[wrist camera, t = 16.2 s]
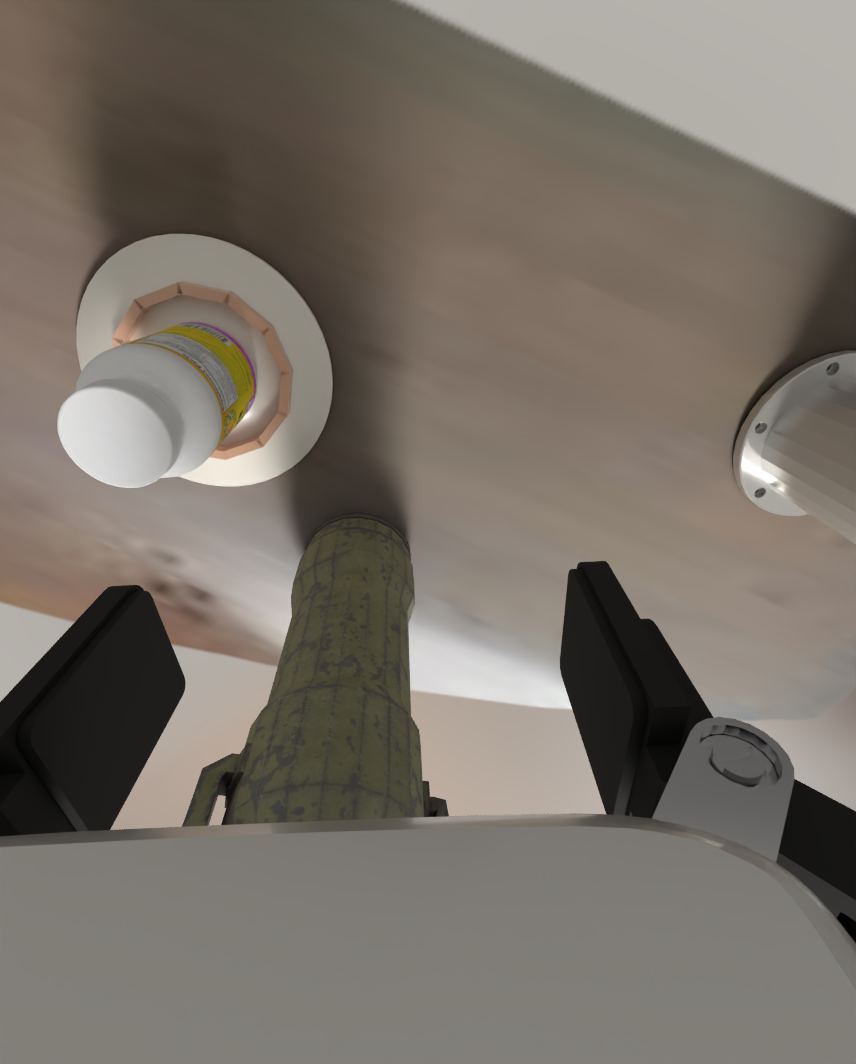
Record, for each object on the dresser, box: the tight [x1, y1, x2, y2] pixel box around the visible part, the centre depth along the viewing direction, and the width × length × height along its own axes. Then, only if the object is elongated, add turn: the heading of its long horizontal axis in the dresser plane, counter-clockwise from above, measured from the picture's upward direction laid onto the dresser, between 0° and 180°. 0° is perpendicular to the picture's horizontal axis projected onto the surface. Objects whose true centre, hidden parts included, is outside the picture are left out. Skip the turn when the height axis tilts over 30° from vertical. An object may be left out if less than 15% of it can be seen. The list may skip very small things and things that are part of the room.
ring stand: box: [76, 234, 333, 486], centre depth 33 cm, size 16×16×2 cm
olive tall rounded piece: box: [182, 513, 449, 827], centre depth 26 cm, size 9×12×35 cm
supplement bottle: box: [57, 322, 258, 488], centre depth 27 cm, size 7×7×13 cm
